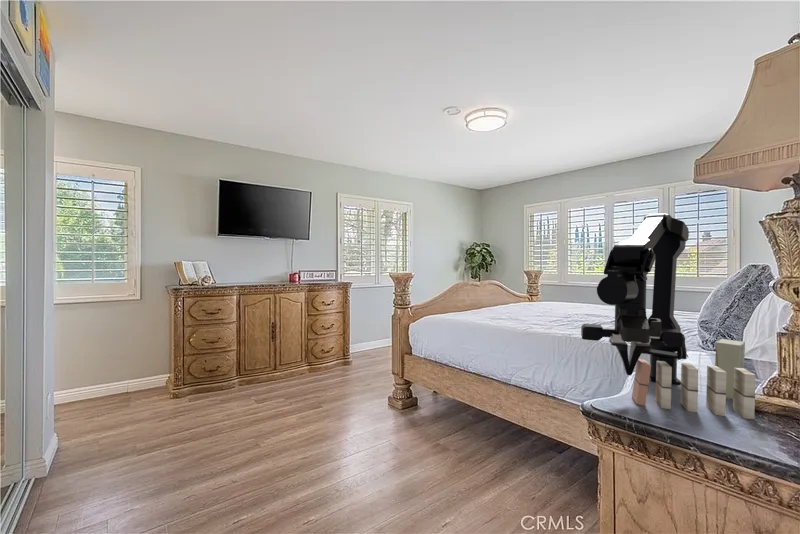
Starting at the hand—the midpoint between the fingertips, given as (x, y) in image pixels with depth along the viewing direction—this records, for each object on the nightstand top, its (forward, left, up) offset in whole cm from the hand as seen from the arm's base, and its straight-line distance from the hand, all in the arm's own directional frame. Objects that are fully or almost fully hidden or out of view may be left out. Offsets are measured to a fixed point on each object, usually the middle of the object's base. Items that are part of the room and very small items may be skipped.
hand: (628, 374), depth 86 cm
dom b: (0, +6, -6) cm, 8 cm away
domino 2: (0, +11, -6) cm, 12 cm away
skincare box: (-13, +22, -6) cm, 26 cm away
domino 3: (0, +20, -6) cm, 21 cm away
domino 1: (0, +2, -5) cm, 6 cm away
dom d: (0, +15, -6) cm, 16 cm away
